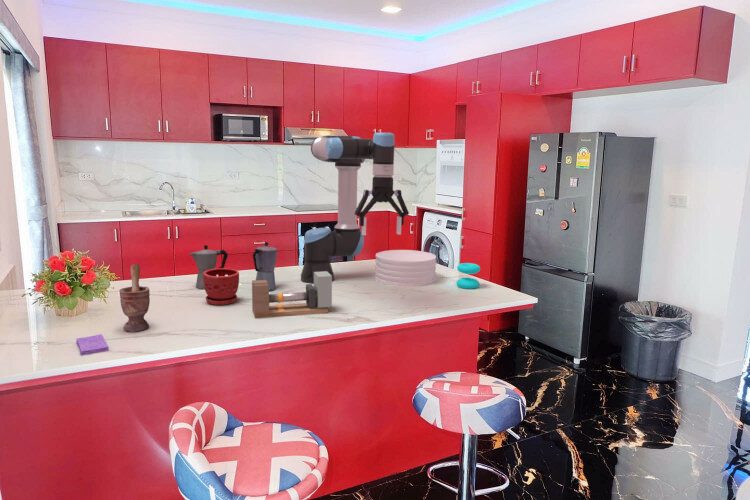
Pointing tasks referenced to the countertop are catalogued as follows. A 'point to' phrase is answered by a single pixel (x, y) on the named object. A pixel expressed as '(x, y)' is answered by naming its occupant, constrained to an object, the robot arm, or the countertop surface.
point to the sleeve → (323, 289)
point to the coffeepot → (207, 262)
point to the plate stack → (405, 267)
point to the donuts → (468, 269)
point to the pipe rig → (263, 299)
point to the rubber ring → (310, 295)
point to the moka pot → (265, 264)
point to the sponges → (92, 344)
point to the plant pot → (221, 285)
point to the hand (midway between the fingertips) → (381, 234)
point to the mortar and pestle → (135, 302)
